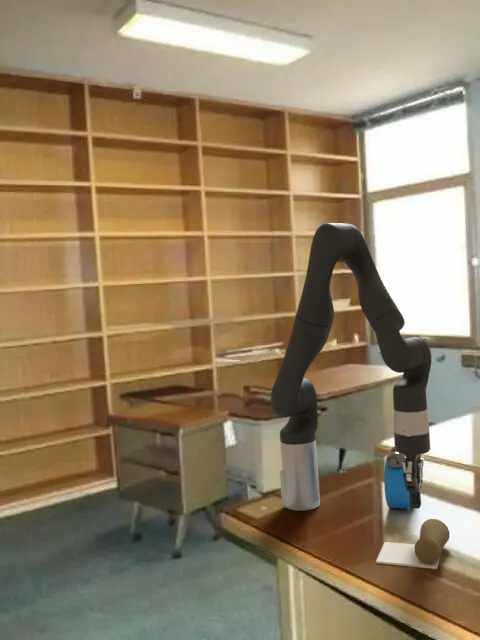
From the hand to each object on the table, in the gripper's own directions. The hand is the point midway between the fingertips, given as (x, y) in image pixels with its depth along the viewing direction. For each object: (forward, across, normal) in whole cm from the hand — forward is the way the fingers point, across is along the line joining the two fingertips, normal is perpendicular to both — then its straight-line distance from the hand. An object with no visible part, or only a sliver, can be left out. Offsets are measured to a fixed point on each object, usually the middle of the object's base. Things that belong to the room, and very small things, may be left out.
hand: (415, 507), depth 143 cm
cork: (+4, +3, +4) cm, 7 cm away
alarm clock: (+8, -19, -7) cm, 22 cm away
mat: (+7, +9, 0) cm, 11 cm away
